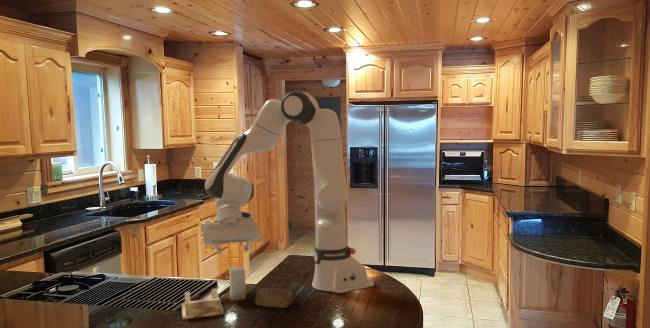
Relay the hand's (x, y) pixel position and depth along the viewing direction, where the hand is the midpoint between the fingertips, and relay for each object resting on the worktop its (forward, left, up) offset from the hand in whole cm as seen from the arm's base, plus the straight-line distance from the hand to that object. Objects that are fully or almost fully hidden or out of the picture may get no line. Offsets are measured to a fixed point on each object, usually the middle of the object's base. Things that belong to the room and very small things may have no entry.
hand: (233, 251), depth 160 cm
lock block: (0, +10, -13) cm, 17 cm away
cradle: (+12, +17, -13) cm, 25 cm away
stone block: (-10, +20, -14) cm, 27 cm away
